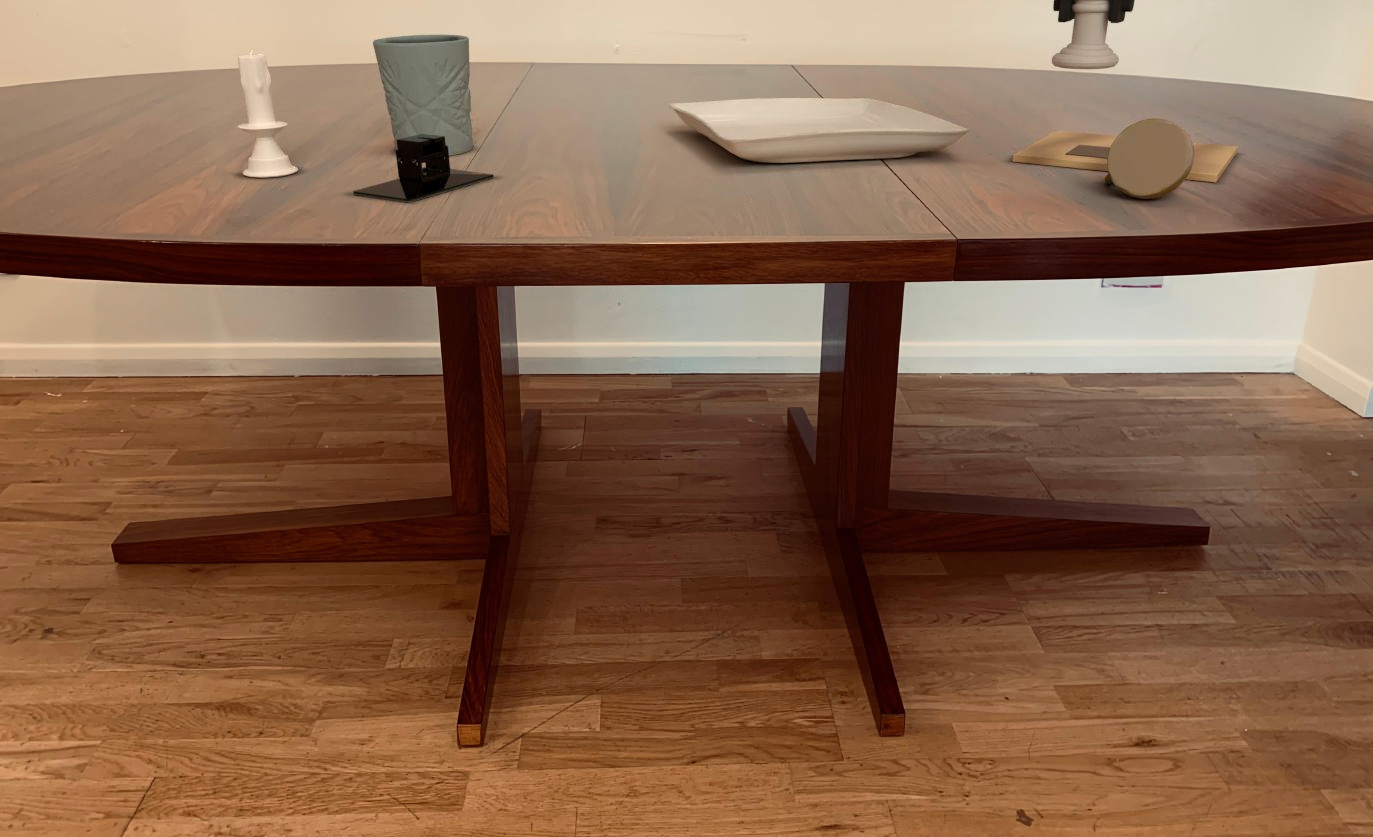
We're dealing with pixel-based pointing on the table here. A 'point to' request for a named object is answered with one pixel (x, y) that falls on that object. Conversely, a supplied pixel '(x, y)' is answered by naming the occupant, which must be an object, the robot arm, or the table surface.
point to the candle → (261, 120)
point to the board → (1095, 149)
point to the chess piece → (1088, 38)
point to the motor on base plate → (422, 171)
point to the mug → (1150, 158)
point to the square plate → (817, 128)
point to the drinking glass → (427, 87)
